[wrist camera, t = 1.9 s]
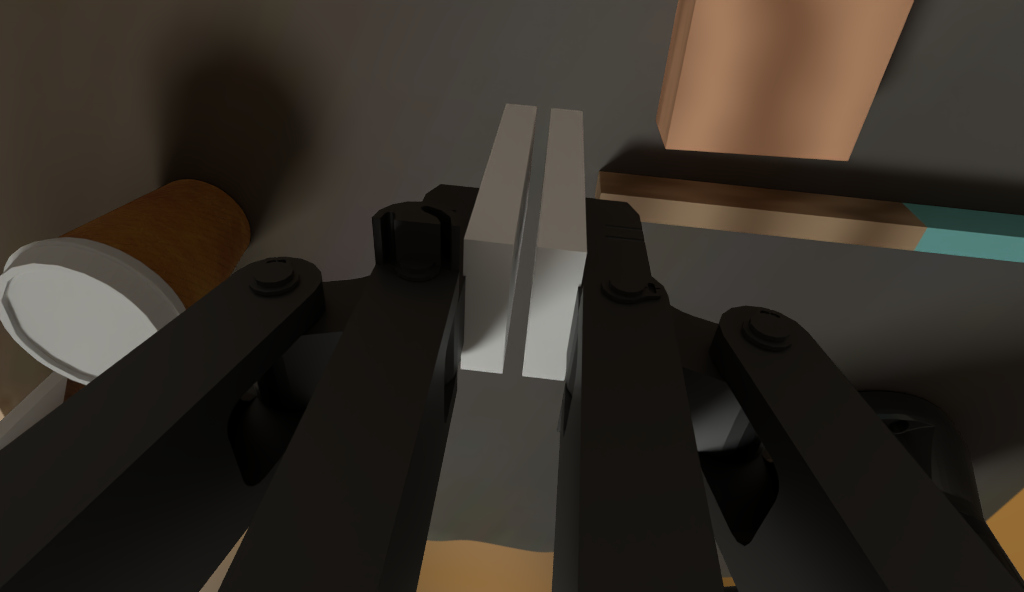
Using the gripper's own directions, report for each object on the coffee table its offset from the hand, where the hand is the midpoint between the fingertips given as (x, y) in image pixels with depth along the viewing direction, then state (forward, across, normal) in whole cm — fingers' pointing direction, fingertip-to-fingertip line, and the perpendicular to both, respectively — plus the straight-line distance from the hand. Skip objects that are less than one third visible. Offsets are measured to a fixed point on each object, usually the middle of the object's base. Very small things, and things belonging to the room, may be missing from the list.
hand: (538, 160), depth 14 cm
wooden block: (+19, -10, 0) cm, 21 cm away
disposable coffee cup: (+19, +22, +15) cm, 33 cm away
